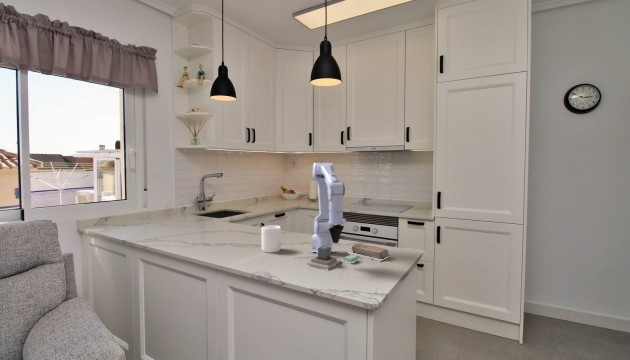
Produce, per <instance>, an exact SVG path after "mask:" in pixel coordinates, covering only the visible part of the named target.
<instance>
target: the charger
mask: <svg viewBox="0 0 630 360" xmlns="http://www.w3.org/2000/svg"><path fill="white" fill-rule="evenodd" d="M317 256H318V259H319V260H324V261H328V260H330V259H331V256H332V253H331V247H326V246H321V247H319V248H318V253H317Z"/></svg>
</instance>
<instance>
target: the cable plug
mask: <svg viewBox="0 0 630 360" xmlns="http://www.w3.org/2000/svg"><path fill="white" fill-rule="evenodd" d="M343 258H344V259H343V262H344V261H347V262H350V263H351V262H353V261H355V260H357V261H358V257H357V256H354V255H349V254H348V255H347V256H344V257H343Z"/></svg>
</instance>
